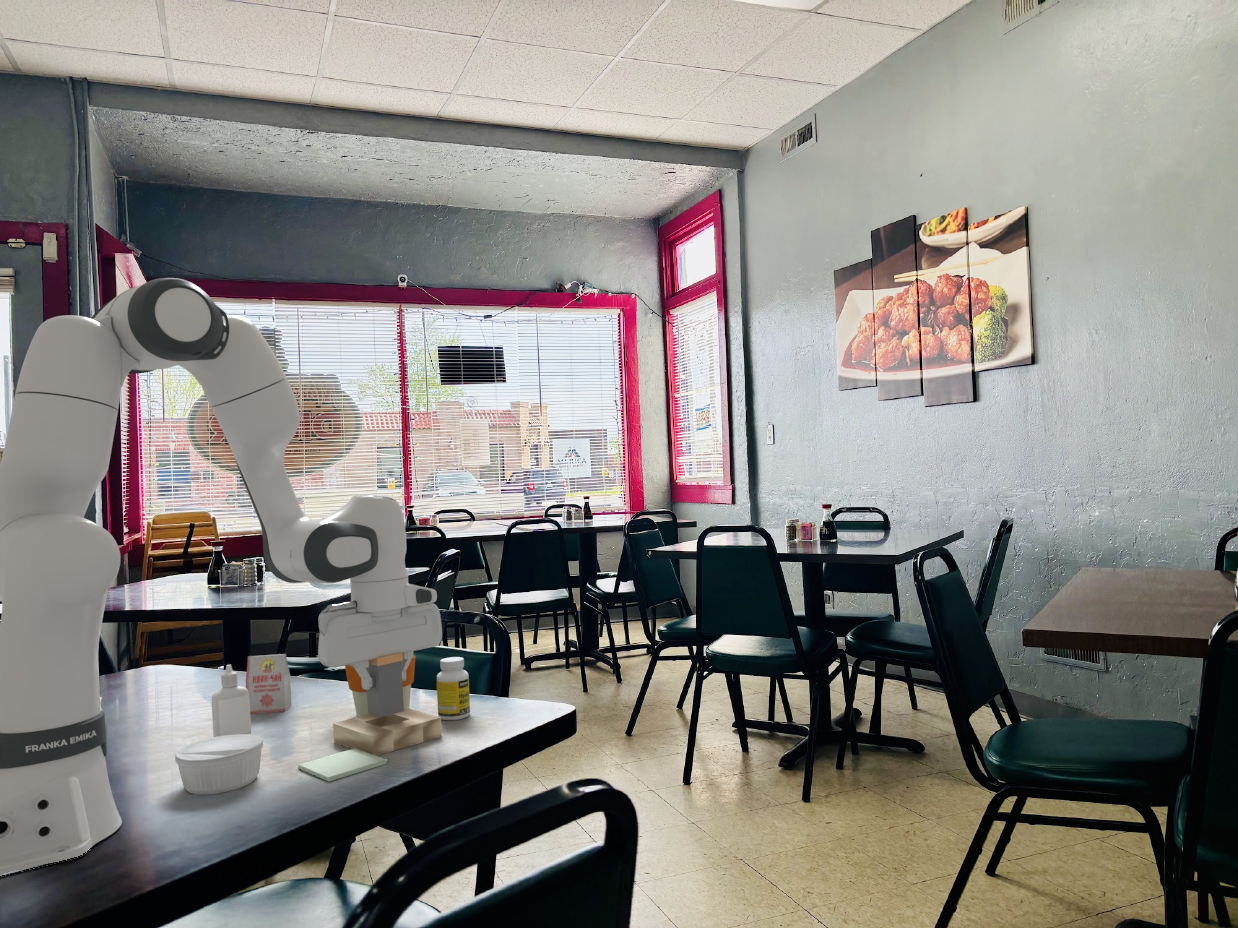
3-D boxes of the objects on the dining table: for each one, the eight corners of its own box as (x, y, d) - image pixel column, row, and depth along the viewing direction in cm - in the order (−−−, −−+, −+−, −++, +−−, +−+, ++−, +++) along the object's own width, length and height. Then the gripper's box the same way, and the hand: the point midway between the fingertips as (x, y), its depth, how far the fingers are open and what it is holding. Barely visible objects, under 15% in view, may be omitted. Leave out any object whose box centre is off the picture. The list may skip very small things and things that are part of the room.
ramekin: (181, 805, 117) (179, 764, 117) (172, 782, 126) (170, 744, 126) (272, 784, 123) (270, 746, 123) (256, 764, 132) (255, 728, 132)
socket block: (373, 756, 133) (372, 736, 133) (334, 742, 141) (333, 723, 141) (441, 736, 141) (440, 717, 141) (400, 723, 150) (399, 705, 150)
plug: (381, 717, 138) (377, 658, 138) (366, 713, 141) (362, 655, 141) (405, 710, 141) (402, 652, 141) (390, 706, 144) (387, 649, 144)
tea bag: (254, 708, 166) (251, 654, 166) (291, 705, 166) (288, 651, 166) (247, 713, 162) (244, 658, 162) (285, 711, 163) (282, 656, 163)
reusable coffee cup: (430, 703, 162) (426, 620, 162) (402, 723, 150) (397, 633, 150) (366, 703, 165) (361, 622, 165) (332, 723, 152) (327, 635, 152)
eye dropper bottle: (250, 739, 145) (246, 665, 145) (212, 744, 144) (208, 669, 144) (252, 732, 150) (248, 660, 150) (215, 737, 148) (211, 664, 148)
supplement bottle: (463, 721, 149) (460, 662, 149) (433, 721, 150) (430, 662, 150) (475, 712, 155) (472, 655, 155) (445, 712, 156) (442, 655, 156)
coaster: (328, 781, 123) (328, 777, 123) (298, 768, 129) (298, 764, 129) (386, 763, 129) (386, 759, 129) (355, 751, 135) (355, 747, 135)
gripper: (328, 607, 131) (332, 702, 131) (445, 589, 146) (449, 674, 146) (308, 604, 136) (312, 696, 136) (423, 587, 150) (427, 669, 150)
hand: (384, 684), depth 141 cm, fingers closed on plug, 4 cm apart
